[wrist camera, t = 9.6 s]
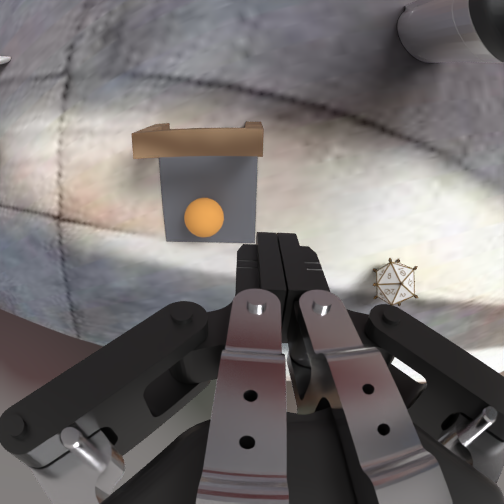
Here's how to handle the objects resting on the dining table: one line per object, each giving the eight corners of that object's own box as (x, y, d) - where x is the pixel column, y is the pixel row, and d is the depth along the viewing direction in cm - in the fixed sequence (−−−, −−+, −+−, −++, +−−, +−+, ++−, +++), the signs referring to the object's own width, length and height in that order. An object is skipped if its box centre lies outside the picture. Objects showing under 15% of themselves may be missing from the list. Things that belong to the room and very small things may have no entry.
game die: (375, 268, 54) (365, 316, 50) (374, 242, 48) (363, 294, 43) (420, 273, 50) (413, 323, 45) (424, 247, 43) (419, 302, 39)
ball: (180, 197, 38) (178, 238, 40) (222, 201, 38) (218, 243, 40) (191, 194, 44) (188, 231, 45) (228, 198, 44) (224, 235, 45)
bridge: (155, 124, 37) (131, 133, 29) (260, 121, 38) (263, 129, 30) (156, 144, 39) (133, 158, 31) (260, 143, 39) (262, 156, 31)
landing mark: (159, 154, 40) (158, 154, 40) (257, 153, 40) (257, 153, 40) (167, 240, 47) (166, 241, 47) (254, 242, 47) (254, 242, 47)
